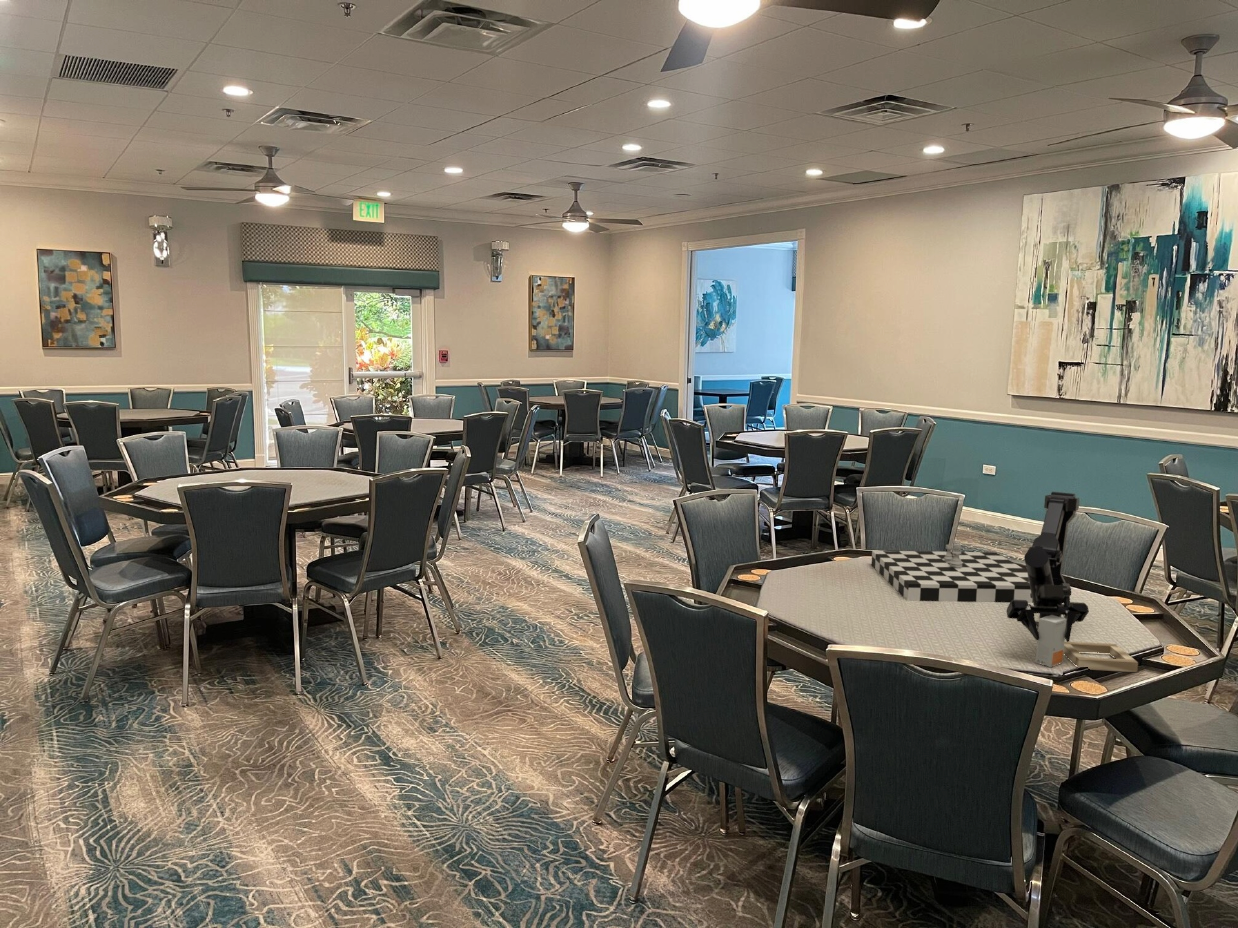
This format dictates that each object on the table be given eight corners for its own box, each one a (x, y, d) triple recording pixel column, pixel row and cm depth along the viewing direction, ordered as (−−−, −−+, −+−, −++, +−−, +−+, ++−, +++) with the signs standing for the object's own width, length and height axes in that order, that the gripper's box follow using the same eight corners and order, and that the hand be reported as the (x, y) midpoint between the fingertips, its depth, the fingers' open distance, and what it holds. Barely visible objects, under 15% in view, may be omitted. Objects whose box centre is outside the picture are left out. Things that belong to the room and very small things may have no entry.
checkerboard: (1050, 604, 286) (1054, 558, 284) (907, 602, 286) (910, 556, 284) (995, 568, 330) (998, 528, 328) (871, 566, 331) (873, 527, 329)
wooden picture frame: (1058, 650, 242) (1059, 641, 242) (1114, 652, 240) (1115, 643, 240) (1078, 668, 228) (1079, 659, 228) (1137, 672, 226) (1138, 662, 226)
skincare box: (1050, 668, 228) (1054, 622, 227) (1034, 663, 232) (1038, 618, 230) (1063, 663, 232) (1067, 618, 230) (1047, 658, 235) (1051, 614, 234)
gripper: (1012, 569, 234) (1022, 623, 224) (1089, 572, 231) (1102, 627, 222) (1002, 590, 243) (1011, 643, 233) (1075, 593, 240) (1087, 647, 231)
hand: (1052, 640), depth 230 cm, fingers closed on skincare box, 7 cm apart
